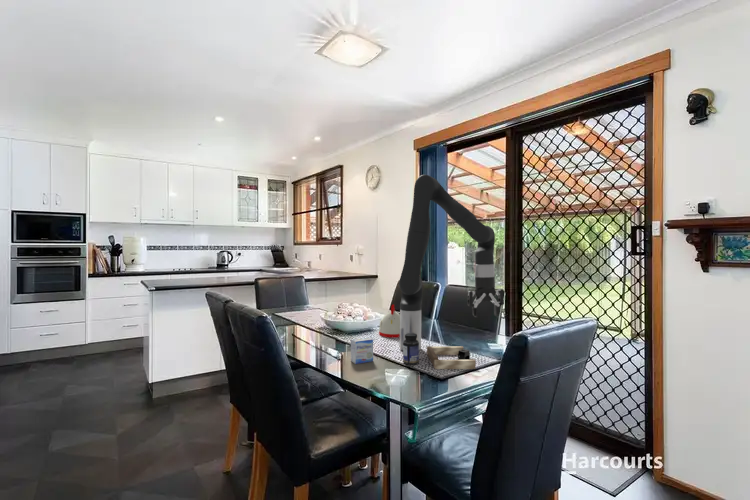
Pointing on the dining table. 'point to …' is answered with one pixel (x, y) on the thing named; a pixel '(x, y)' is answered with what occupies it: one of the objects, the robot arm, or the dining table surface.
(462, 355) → the black angular block
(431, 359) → the frame
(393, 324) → the kitchen timer
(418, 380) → the dining table surface
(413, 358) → the pill bottle
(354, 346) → the medicine box
